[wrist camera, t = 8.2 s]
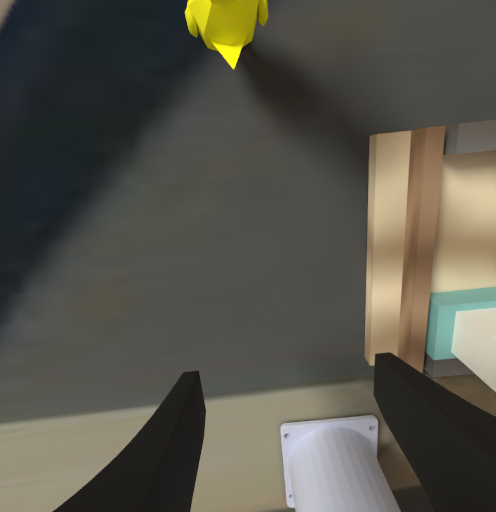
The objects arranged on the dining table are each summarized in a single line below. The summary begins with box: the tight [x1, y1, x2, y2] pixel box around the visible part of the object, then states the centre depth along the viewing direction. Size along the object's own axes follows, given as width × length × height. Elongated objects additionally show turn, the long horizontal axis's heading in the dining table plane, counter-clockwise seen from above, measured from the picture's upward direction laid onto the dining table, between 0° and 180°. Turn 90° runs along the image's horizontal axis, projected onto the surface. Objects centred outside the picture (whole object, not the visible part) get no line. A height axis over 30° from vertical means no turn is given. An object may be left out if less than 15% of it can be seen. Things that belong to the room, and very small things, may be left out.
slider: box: [425, 287, 496, 391], centre depth 18 cm, size 4×5×5 cm
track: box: [365, 120, 496, 378], centre depth 19 cm, size 16×12×3 cm
